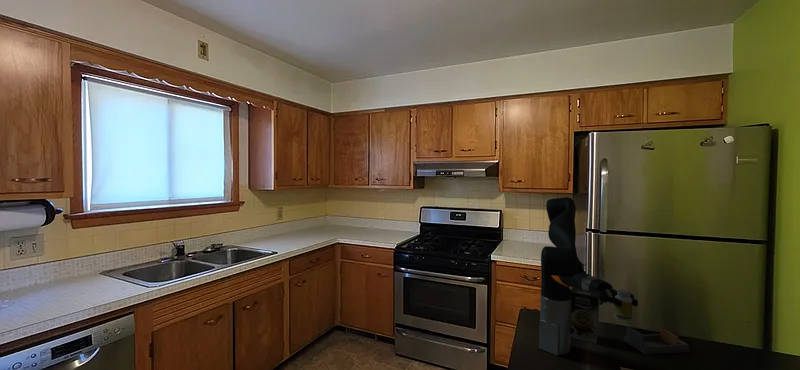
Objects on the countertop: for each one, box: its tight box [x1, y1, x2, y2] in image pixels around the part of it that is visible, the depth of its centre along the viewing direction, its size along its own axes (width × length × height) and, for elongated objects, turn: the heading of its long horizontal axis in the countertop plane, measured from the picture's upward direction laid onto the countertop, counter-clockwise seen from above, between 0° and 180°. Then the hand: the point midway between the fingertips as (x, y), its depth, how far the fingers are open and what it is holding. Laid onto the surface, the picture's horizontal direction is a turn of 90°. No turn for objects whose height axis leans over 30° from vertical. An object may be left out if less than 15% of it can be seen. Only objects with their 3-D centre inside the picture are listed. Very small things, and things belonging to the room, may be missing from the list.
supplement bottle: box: [613, 288, 633, 321], centre depth 124 cm, size 5×5×10 cm
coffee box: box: [570, 287, 601, 344], centre depth 122 cm, size 9×6×16 cm
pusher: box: [660, 328, 679, 345], centre depth 117 cm, size 1×6×4 cm, turn 6°
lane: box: [623, 326, 691, 355], centre depth 116 cm, size 16×9×5 cm, turn 96°
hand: (628, 303), depth 122 cm, fingers closed on supplement bottle, 5 cm apart
